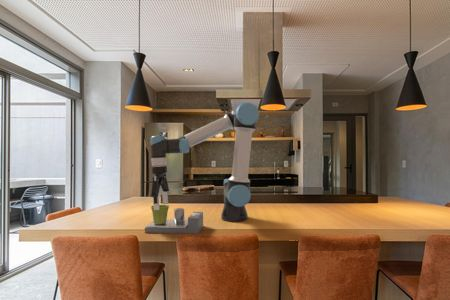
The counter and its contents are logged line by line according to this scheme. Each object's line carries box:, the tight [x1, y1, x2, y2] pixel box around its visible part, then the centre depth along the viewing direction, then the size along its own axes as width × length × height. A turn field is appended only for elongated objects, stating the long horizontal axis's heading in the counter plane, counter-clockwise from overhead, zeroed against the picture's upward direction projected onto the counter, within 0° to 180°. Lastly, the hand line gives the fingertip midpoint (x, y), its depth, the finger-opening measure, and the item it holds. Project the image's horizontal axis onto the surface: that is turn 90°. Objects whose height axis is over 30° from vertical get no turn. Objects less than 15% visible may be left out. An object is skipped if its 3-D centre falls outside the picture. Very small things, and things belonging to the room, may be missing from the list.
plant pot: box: [150, 204, 170, 224], centre depth 159 cm, size 9×9×9 cm
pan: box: [146, 219, 188, 228], centre depth 160 cm, size 20×12×1 cm, turn 83°
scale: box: [144, 211, 204, 235], centre depth 160 cm, size 27×13×8 cm, turn 83°
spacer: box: [173, 207, 186, 224], centre depth 160 cm, size 5×5×7 cm
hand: (161, 206), depth 161 cm, fingers open, 13 cm apart
